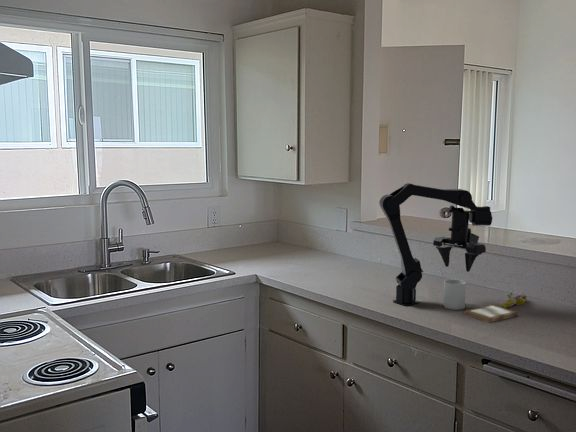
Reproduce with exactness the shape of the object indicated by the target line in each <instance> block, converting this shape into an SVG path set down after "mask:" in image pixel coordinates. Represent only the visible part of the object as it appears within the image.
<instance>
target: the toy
mask: <svg viewBox="0 0 576 432" xmlns="http://www.w3.org/2000/svg"><path fill="white" fill-rule="evenodd" d="M505 297H506V298H507V299H508V300H506V301H505V302H502V303H501V304H502V307H503V308H505V309H508V308H509V307H512V306H514V305H516V306H521V305H523V304H525V301H527V300H528V299H527V295H526V294H525V293H524V292H520V290H519V291H517V295H514V293H513V292H509V293H506V295H505Z"/></svg>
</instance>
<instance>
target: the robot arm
mask: <svg viewBox="0 0 576 432" xmlns="http://www.w3.org/2000/svg"><path fill="white" fill-rule="evenodd" d="M411 196H414V197H415V196H416V197H423V198H429V199H434V200H440V201H445V202H448V203H450V204H453V205H450V206H449V207H448V208H446V210H445V212H447V213H451V225H450V226H451V227H448V231H450V237H446V236H440V237H439V236H438V237H435V238H434V239H433V242H432V244H433V245H432V246H435V249H437V250H438V253H439V254H440V256H441V258H442V261H443V263H444V267H446V268H448V267H449V265H450V256H451V255H450V253H451V250H452V249H453V248H460V249H464V250H465V253H464V259H465V270H466V272H467V273H469V272H471V270H472V267H473V265H474V262H475V260H476V259H477V257H479V256H480V255H482V254H483V253H486V249H487V248H486V246H485V244H484V243H479V239H480V236H479V235H477V234H475V233H472V229H471V227H470V228H469V223H471V225H472V226H481V227H484V226H486V227H487V226H488V227H490V226H491V225H492V222H493V215H492V214H493V213H492V211H491V206H489V205H487V206H486V205H485V206H484V205H483V206H477V205H476V203H475V202H474V200H473V195H472V193H471V191H468V190H466V189H462V188H449V189H448V188H447V189H445V188H444V189H443V188H437V187H430V186H424V185H418V184H413V183H410V182H406V183H405V184H404V185H402V186H401V187H399V188H398V189H396V190H394V191H393V192H391V193H390V194H384V195H383V196H381V197H380V199H379V202H378V204H379V207H380V209H381V210H382V212H383V214H384V216H385V218H386V219H387V221H388V223H389V226H390V229H391V231H392V235H393V239H394V242H395V244H396V247H397V250H398V254H399V257H400V266H401V267H400V268H401V272H400V273H399V274H398V275H396V276H395V281H396V283H397V284H398V285H396V288H395V289H396V290H395V293H396V294H395V296H396V297H395V299H394V300H393V299H392V302H393V303H396V304H398V305H401V306H405V307H406V306H411V305H417V304H419V301H417V300H416V297H417V289H416V288H417V285H418V283H419V282H421V280H422V279H423V273H424V270H423V269H422V265H421V261H420V260H419V259H418V258H417V257H414V256H413V254H412V250H411V248H410V245H409V242H408V238H407V236H406V233H405V230H404V227H403V223H402V220H401V207H400V206H401V205H402V204H403V203H405V202H406V201H407V200H408V199H409V198H410V197H411ZM454 205H456V206H458V207H455V206H454ZM464 208H465V209H468V210H465V209H464Z"/></svg>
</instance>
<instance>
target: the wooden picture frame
mask: <svg viewBox="0 0 576 432" xmlns="http://www.w3.org/2000/svg"><path fill="white" fill-rule="evenodd" d="M518 313H519V312H518V311H517V310H516V311H515V310H511V309H508V308H505V307H503V306H502V307H501V306H497V305H494V304H490V305H486V306H482V307H481V306H480V307H476V308H472V309H467V310H464V313H463V314H464V315H465V316H468V317H471V318H474V319H478V320H479V321H483V322H486V323H493V322H497V321H501V320H506V319H509V318H514V317H517V316H519V314H518Z"/></svg>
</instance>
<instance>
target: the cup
mask: <svg viewBox="0 0 576 432" xmlns="http://www.w3.org/2000/svg"><path fill="white" fill-rule="evenodd" d="M466 286H467V282H466V281H464V280H461V279H445V280H444V281H443V295H442V296H443V297H442V298H443V299H442V300H443V301H442V304H443V307H444V309H447V310H453V311H461V310H464V309H465V307H466V290H467V289H466V288H467V287H466Z"/></svg>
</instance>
